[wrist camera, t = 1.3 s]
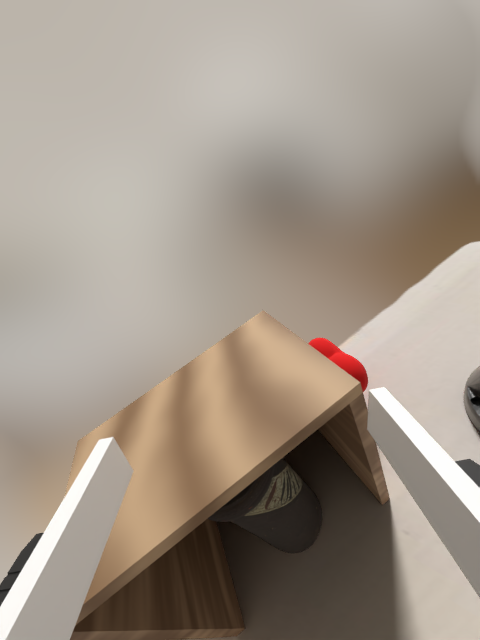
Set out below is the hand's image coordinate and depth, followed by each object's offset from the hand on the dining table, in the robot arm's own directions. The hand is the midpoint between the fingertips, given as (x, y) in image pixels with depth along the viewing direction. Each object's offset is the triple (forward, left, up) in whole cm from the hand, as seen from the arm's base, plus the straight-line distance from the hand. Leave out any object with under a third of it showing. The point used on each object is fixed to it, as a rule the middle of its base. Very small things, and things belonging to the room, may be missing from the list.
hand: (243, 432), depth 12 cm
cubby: (+4, -6, -29) cm, 30 cm away
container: (+4, -6, -29) cm, 30 cm away
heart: (-15, -15, -29) cm, 36 cm away
